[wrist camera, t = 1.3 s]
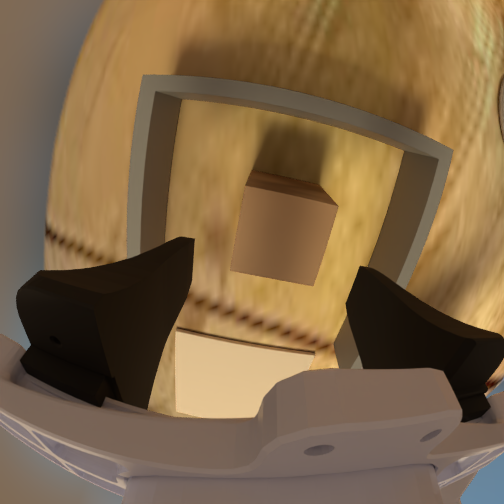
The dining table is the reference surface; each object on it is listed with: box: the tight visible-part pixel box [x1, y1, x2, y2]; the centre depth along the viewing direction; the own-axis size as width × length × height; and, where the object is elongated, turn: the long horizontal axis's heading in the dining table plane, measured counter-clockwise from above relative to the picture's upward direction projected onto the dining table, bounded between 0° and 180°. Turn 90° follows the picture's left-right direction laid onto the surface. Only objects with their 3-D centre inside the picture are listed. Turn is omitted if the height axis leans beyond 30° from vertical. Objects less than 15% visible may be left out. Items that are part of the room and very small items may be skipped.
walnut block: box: [230, 170, 338, 286], centre depth 18 cm, size 5×5×6 cm
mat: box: [175, 328, 315, 418], centre depth 29 cm, size 14×16×1 cm
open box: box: [127, 75, 453, 369], centre depth 19 cm, size 19×20×5 cm
